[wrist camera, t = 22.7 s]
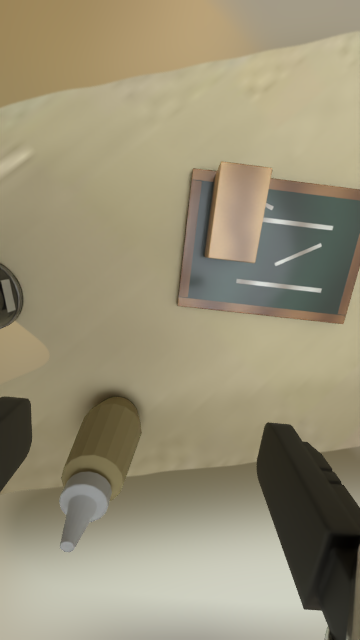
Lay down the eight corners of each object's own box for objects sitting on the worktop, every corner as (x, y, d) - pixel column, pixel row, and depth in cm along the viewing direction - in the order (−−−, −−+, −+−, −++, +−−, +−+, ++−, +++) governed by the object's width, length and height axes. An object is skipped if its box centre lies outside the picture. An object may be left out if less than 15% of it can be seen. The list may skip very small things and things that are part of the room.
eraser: (203, 257, 31) (207, 257, 27) (214, 176, 29) (221, 161, 24) (243, 261, 32) (255, 263, 27) (257, 181, 29) (272, 167, 25)
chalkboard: (177, 304, 34) (177, 305, 33) (192, 171, 30) (193, 168, 29) (338, 321, 35) (343, 324, 34) (373, 194, 31) (381, 192, 30)
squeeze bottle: (90, 433, 39) (18, 578, 22) (91, 386, 37) (14, 503, 20) (142, 438, 39) (114, 585, 22) (147, 392, 37) (120, 512, 20)
